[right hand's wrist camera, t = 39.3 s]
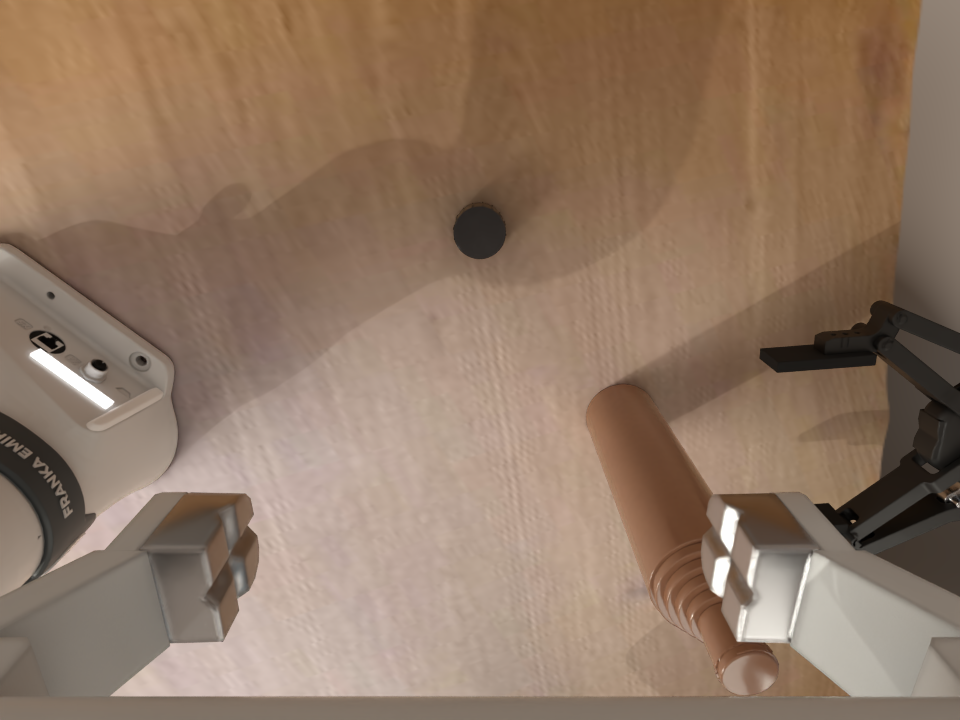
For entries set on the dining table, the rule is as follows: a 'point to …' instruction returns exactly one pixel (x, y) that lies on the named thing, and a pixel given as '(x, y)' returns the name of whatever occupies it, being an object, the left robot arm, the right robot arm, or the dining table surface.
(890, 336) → the left robot arm
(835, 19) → the dining table surface
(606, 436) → the bottle
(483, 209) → the cap
